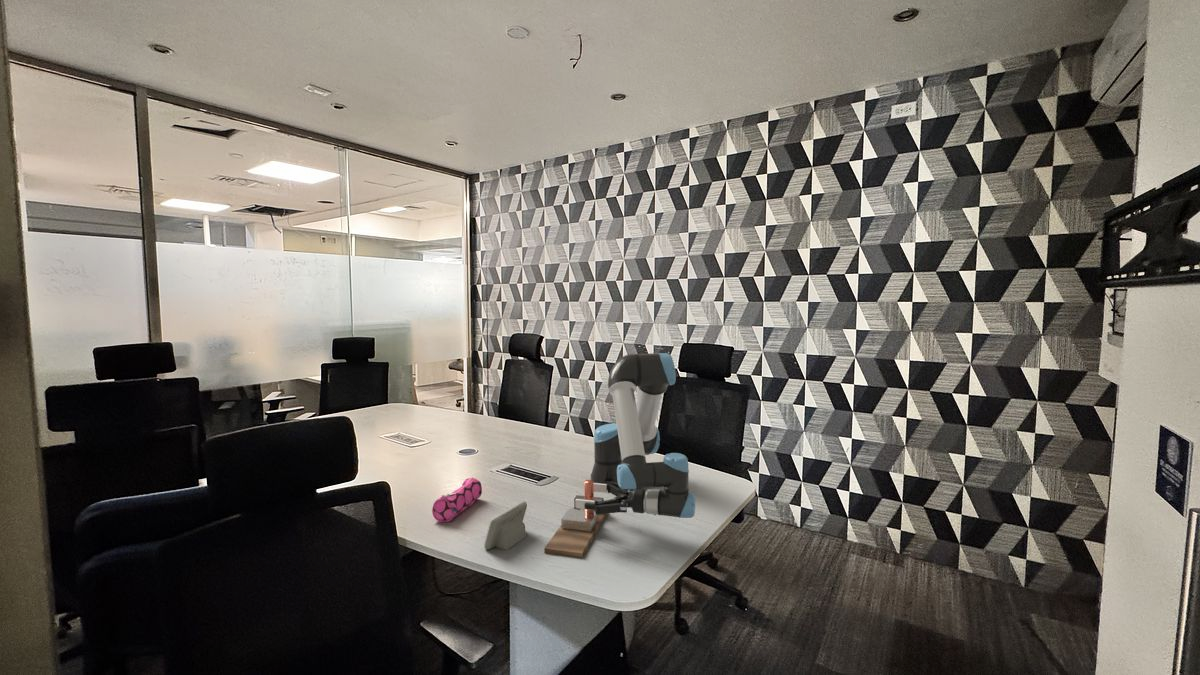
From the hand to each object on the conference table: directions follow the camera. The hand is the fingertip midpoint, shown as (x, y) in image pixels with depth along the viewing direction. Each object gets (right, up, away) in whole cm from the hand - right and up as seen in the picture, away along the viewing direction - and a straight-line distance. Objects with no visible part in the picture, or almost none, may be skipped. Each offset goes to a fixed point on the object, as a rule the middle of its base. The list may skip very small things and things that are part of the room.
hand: (582, 494), depth 157 cm
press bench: (-1, -12, 0) cm, 12 cm away
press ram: (-1, -10, +1) cm, 10 cm away
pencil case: (-45, -12, +17) cm, 50 cm away
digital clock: (-24, -13, -5) cm, 28 cm away
